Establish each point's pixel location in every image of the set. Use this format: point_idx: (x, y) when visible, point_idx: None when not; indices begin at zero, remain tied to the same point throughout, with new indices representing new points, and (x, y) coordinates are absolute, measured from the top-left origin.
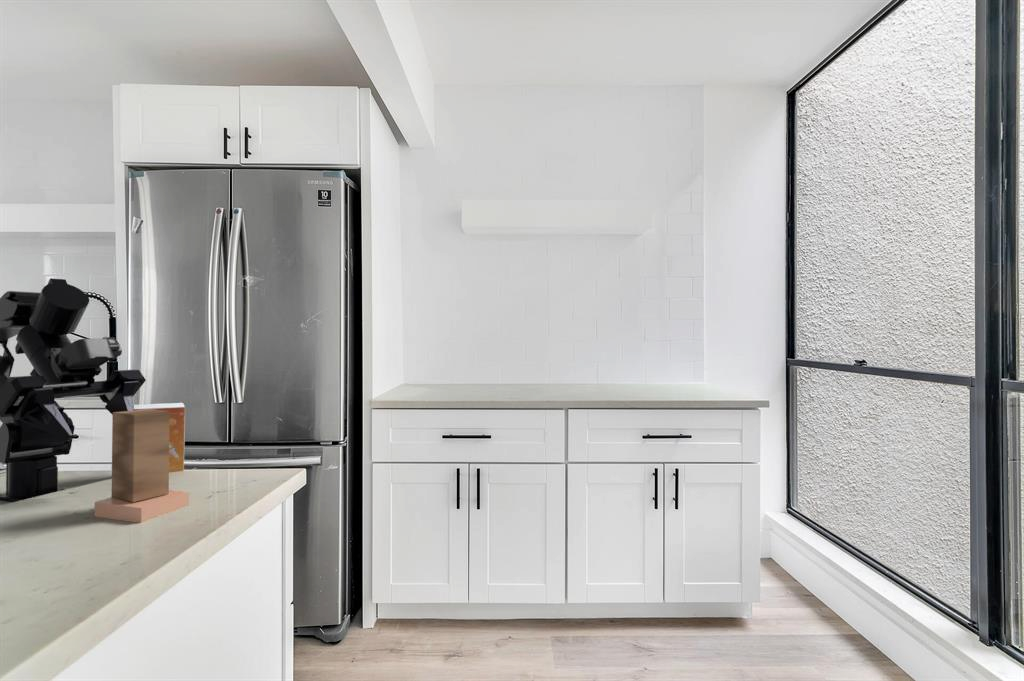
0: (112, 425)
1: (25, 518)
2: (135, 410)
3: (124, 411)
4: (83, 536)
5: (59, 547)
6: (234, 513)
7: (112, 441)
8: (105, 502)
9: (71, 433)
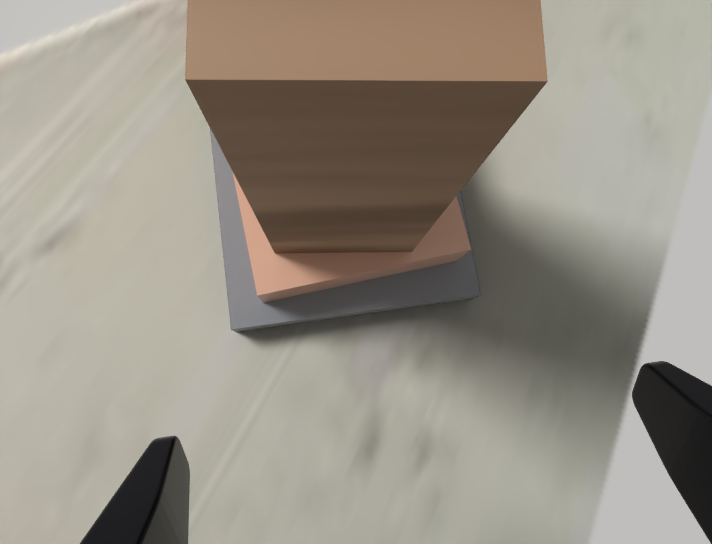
0: (505, 133)
1: (543, 535)
2: (334, 62)
3: (441, 68)
4: (512, 194)
5: (583, 162)
6: (156, 17)
7: (469, 176)
8: (452, 213)
9: (663, 370)
